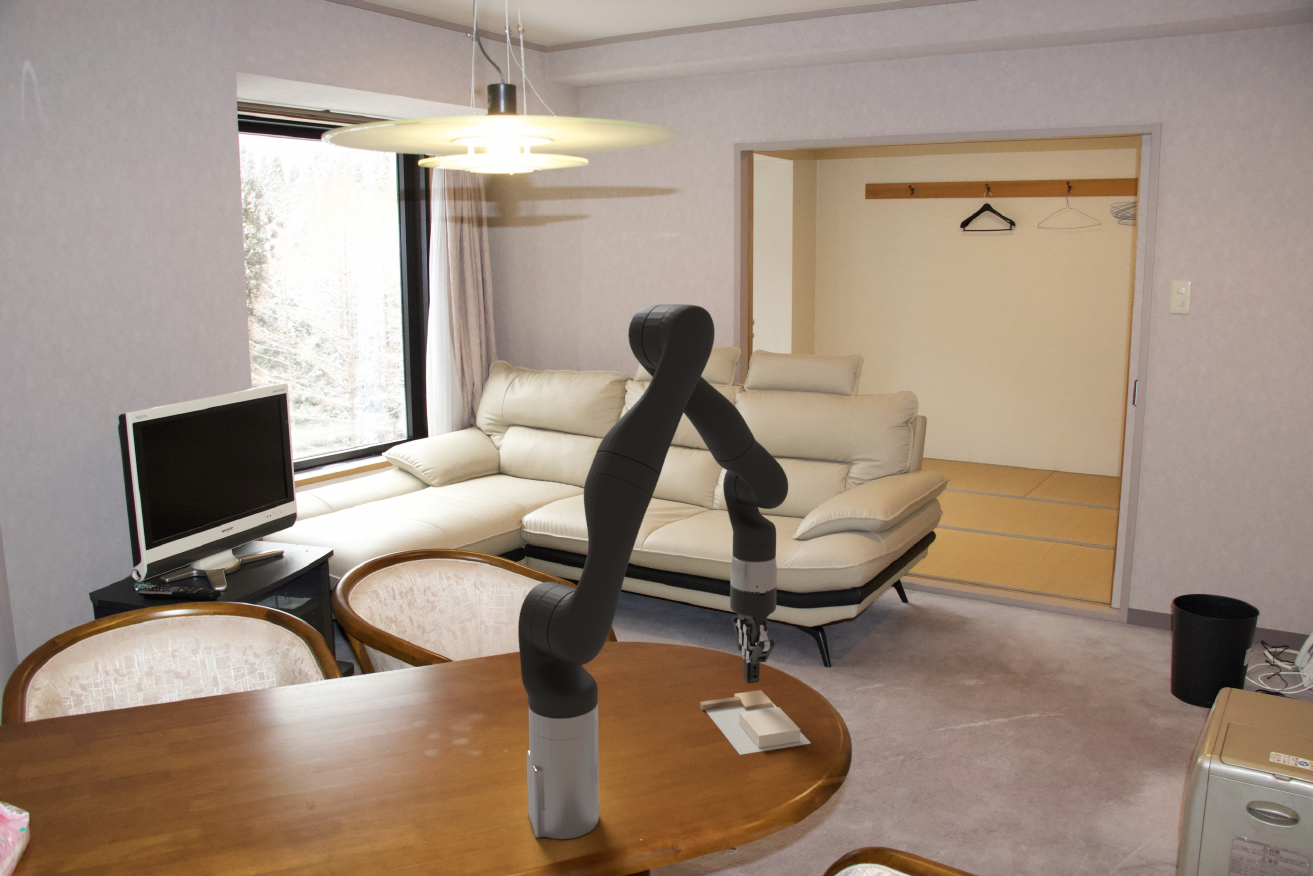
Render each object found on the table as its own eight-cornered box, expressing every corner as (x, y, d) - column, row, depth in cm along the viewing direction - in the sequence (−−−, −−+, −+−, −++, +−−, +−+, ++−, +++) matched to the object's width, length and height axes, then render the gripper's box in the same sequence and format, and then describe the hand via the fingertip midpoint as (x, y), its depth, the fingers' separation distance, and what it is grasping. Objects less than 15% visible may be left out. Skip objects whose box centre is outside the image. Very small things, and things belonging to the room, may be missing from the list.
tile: (739, 725, 157) (758, 748, 150) (739, 713, 157) (759, 736, 149) (778, 719, 159) (799, 741, 152) (778, 707, 159) (800, 729, 151)
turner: (706, 715, 160) (706, 710, 160) (696, 702, 165) (696, 697, 165) (772, 705, 164) (772, 700, 164) (760, 693, 169) (760, 688, 168)
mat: (739, 758, 148) (740, 754, 148) (699, 706, 165) (699, 703, 165) (810, 746, 151) (811, 743, 151) (764, 697, 168) (764, 694, 168)
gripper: (717, 571, 163) (716, 668, 166) (747, 598, 150) (745, 701, 154) (758, 567, 165) (756, 662, 168) (791, 593, 153) (788, 695, 156)
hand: (751, 681), depth 161 cm, fingers closed
